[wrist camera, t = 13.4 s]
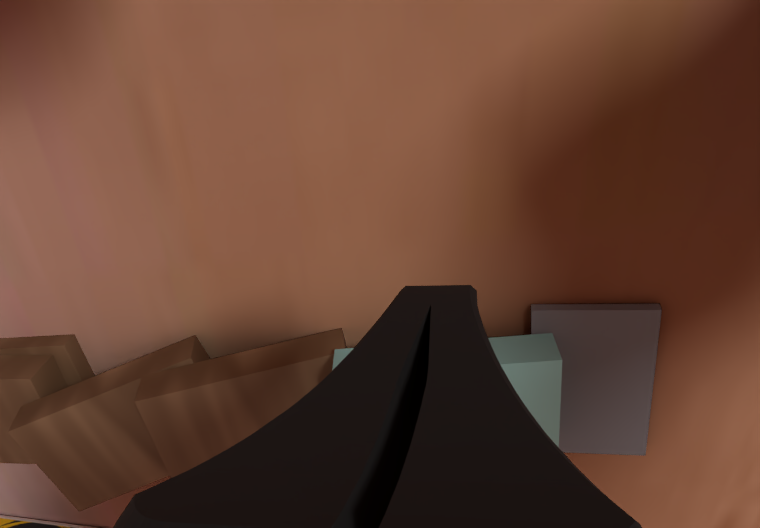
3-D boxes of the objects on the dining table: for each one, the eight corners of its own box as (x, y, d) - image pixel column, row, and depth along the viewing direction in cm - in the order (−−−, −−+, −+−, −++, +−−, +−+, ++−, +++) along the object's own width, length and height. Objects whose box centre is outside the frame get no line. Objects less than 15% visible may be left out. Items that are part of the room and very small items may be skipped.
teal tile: (562, 359, 23) (331, 376, 23) (557, 465, 25) (348, 478, 26) (552, 333, 24) (334, 349, 25) (549, 435, 27) (350, 448, 27)
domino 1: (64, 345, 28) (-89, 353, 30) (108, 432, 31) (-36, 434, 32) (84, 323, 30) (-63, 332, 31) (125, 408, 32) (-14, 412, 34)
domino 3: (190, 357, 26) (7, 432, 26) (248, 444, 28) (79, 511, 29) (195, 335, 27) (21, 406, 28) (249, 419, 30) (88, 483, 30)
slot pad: (659, 303, 23) (661, 309, 23) (643, 447, 27) (645, 455, 26) (531, 304, 24) (531, 310, 24) (531, 443, 28) (531, 451, 27)
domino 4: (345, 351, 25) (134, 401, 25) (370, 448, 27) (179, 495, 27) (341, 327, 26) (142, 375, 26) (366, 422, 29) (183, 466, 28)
